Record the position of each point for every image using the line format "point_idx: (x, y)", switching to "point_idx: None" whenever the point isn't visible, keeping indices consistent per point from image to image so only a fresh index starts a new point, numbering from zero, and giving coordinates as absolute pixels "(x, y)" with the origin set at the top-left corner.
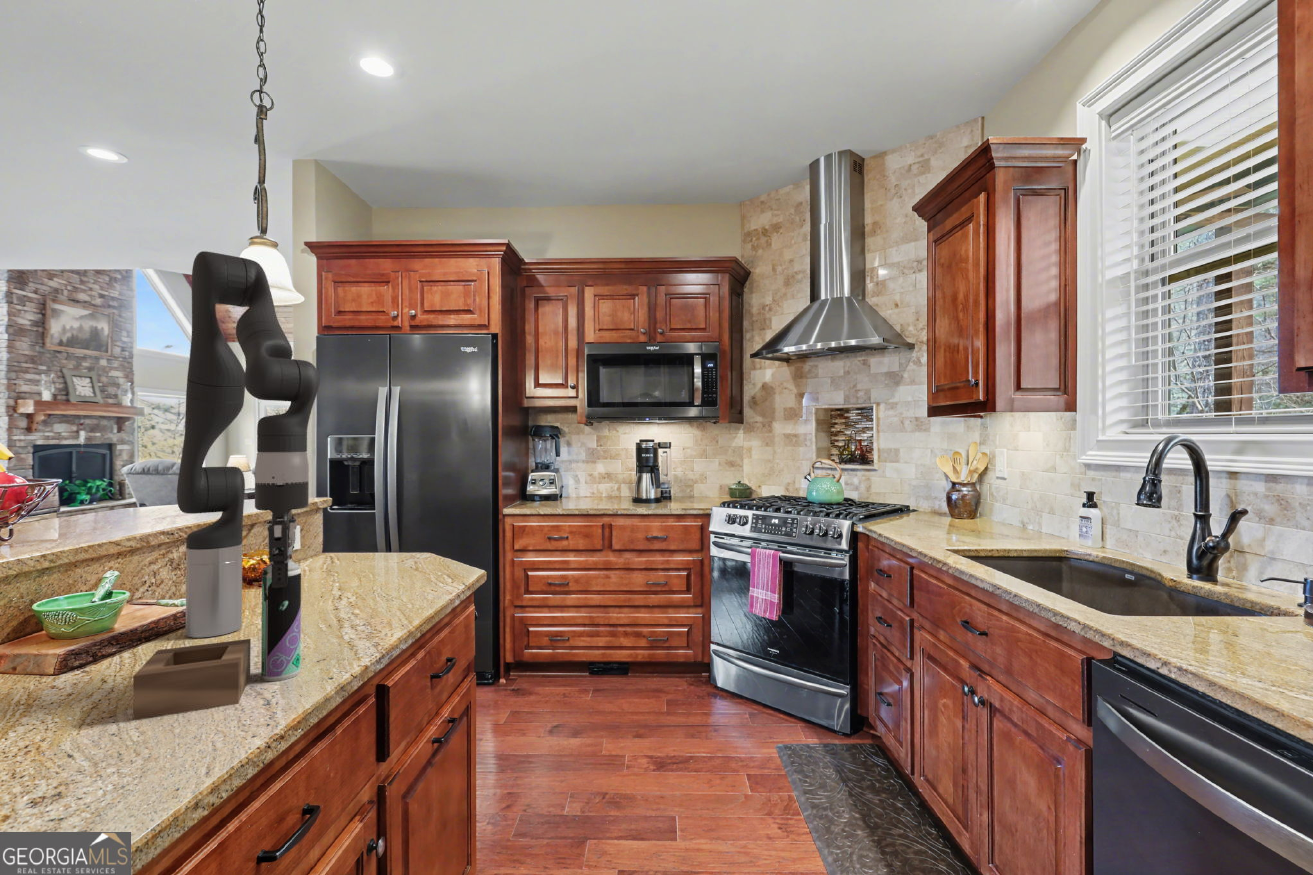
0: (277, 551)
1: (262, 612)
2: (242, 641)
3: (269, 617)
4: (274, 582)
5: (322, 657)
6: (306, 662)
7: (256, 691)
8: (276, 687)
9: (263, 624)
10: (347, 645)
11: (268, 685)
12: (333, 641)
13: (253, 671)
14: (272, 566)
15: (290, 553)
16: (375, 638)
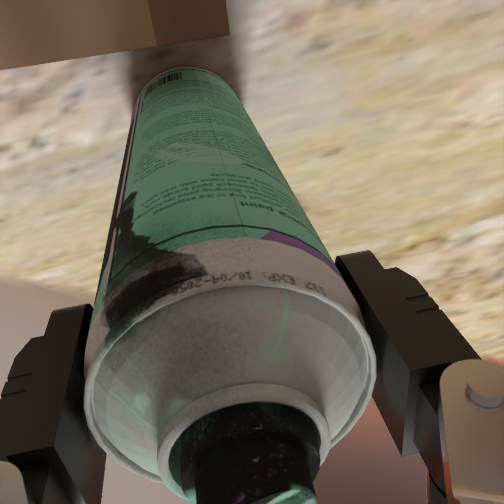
0: (441, 445)
1: (155, 149)
2: (193, 8)
3: (119, 185)
4: (20, 355)
5: (320, 201)
6: (290, 168)
7: (48, 86)
8: (75, 139)
9: (144, 137)
10: (404, 242)
11: (99, 109)
12: (467, 197)
13: (260, 15)
14: (17, 442)
15: (426, 485)
16: (430, 296)
